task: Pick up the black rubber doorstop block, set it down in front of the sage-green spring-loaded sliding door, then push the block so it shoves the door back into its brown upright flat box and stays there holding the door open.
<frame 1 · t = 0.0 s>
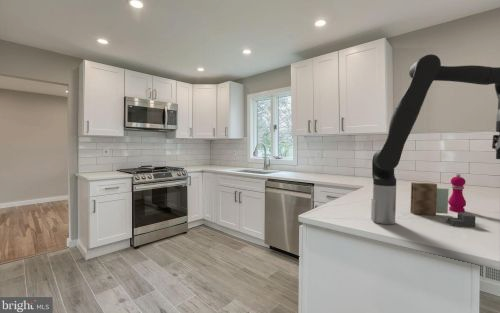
sliding door: (433, 200, 122), point 7 cm above the countertop, slide at 0.0 cm
doorstop block: (460, 225, 106), on the countertop
brown upright flat box: (422, 213, 123), on the countertop
pepper mill: (456, 211, 128), on the countertop
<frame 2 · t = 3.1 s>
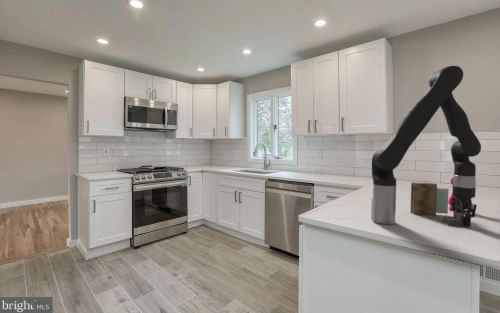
hand: (462, 223, 106), 1 cm above the countertop, tool pointing down, fingers closed on doorstop block, 5 cm apart
doorstop block: (456, 224, 107), on the countertop, touching gripper
everything else where it was.
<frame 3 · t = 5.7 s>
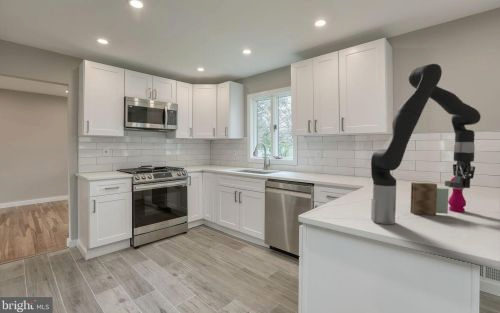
hand: (462, 185, 118), 15 cm above the countertop, tool pointing down, fingers closed on doorstop block, 5 cm apart
doorstop block: (457, 186, 119), point 15 cm above the countertop, touching gripper
everything else where it was.
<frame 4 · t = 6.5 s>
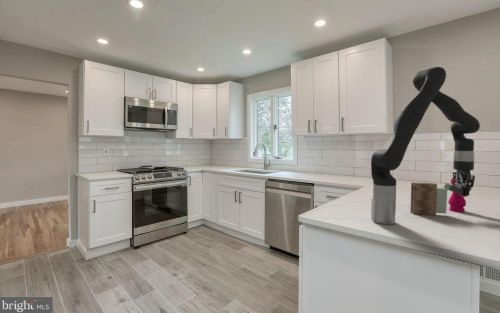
hand: (462, 194, 118), 11 cm above the countertop, tool pointing down, fingers closed on doorstop block, 5 cm apart
sliding door: (432, 200, 122), point 7 cm above the countertop, slide at 0.5 cm, touching doorstop block
doorstop block: (454, 192, 119), point 12 cm above the countertop, tilted 26°, touching gripper, sliding door
everything else where it was.
when the fingers open (2 cm above the countertop, at t = 8.2 s): doorstop block drops 1 cm, point 2 cm above the countertop.
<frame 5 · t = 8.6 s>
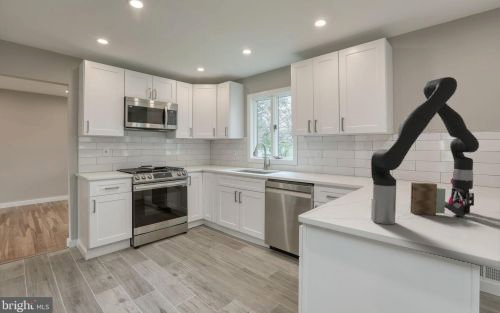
hand: (461, 211, 119), 3 cm above the countertop, tool pointing down, fingers open, 8 cm apart
sliding door: (430, 200, 122), point 7 cm above the countertop, slide at 1.3 cm
doorstop block: (451, 211, 120), point 2 cm above the countertop, tilted 35°
everything else where it was.
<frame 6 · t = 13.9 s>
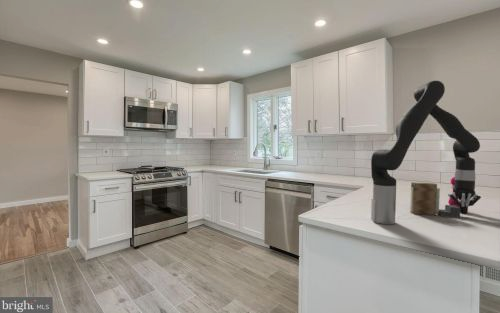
hand: (463, 213, 118), 1 cm above the countertop, tool pointing down, fingers closed
sliding door: (425, 199, 122), point 7 cm above the countertop, slide at 3.7 cm, touching doorstop block
doorstop block: (447, 215, 120), on the countertop, touching gripper, sliding door
everything else where it was.
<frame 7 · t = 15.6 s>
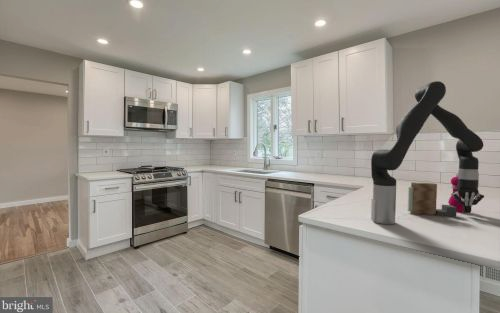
hand: (466, 212, 118), 2 cm above the countertop, tool pointing down, fingers closed
sliding door: (421, 199, 123), point 7 cm above the countertop, slide at 5.2 cm
doorstop block: (444, 215, 121), on the countertop
everything else where it was.
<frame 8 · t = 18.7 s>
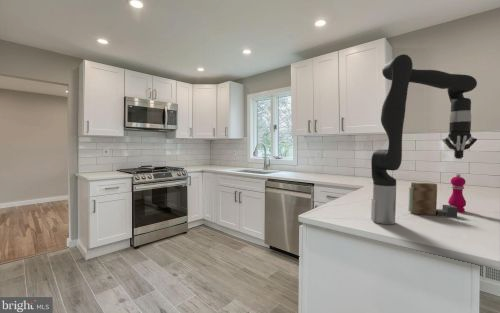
hand: (458, 158, 112), 29 cm above the countertop, tool pointing down, fingers closed
sliding door: (422, 199, 123), point 7 cm above the countertop, slide at 4.9 cm
everything else where it was.
at the end: sliding door slide at 4.8 cm; doorstop block 1.3 cm from the target spot, on the countertop; doorstop block tilted 0° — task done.
